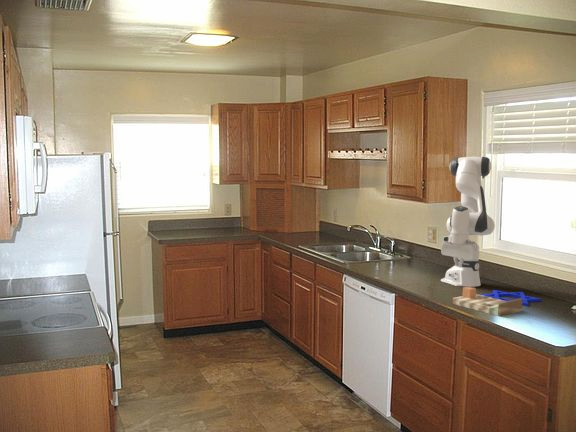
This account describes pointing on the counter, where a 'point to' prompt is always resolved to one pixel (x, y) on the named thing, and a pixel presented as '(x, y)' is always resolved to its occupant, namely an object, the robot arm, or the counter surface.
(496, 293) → the symbol
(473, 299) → the board
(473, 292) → the block
